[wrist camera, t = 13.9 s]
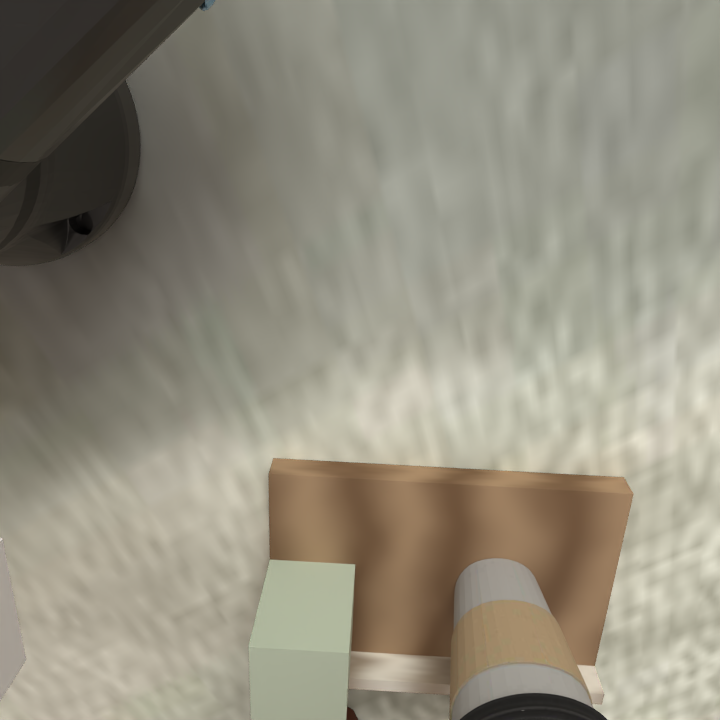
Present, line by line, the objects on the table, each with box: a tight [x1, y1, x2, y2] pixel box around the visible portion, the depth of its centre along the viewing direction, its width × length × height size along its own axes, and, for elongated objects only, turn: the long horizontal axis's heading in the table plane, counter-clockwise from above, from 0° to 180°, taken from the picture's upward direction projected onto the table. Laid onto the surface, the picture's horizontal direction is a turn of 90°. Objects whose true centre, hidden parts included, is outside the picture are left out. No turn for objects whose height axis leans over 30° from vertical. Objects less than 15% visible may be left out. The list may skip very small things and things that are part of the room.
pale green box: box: [248, 560, 355, 720], centre depth 46 cm, size 6×6×8 cm
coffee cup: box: [450, 558, 607, 720], centre depth 42 cm, size 9×9×15 cm
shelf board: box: [269, 458, 633, 704], centre depth 48 cm, size 24×16×4 cm
